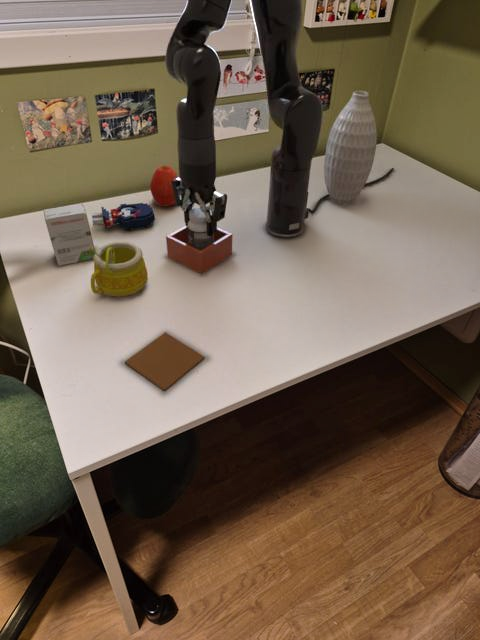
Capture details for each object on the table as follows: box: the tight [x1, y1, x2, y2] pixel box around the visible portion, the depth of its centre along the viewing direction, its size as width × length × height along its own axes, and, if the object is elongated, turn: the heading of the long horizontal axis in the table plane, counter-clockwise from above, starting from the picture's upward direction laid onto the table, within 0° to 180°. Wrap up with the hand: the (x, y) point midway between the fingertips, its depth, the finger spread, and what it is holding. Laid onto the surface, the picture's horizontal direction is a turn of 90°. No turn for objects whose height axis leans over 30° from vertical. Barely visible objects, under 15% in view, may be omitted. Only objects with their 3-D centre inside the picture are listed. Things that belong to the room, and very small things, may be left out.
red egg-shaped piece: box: [149, 164, 179, 207], centre depth 124 cm, size 8×8×11 cm
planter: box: [165, 225, 233, 275], centre depth 107 cm, size 11×11×6 cm
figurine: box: [91, 202, 156, 232], centre depth 117 cm, size 9×4×15 cm
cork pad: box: [124, 332, 206, 392], centre depth 83 cm, size 10×10×1 cm
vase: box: [323, 90, 378, 205], centre depth 122 cm, size 13×13×28 cm
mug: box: [90, 241, 148, 297], centre depth 95 cm, size 13×11×12 cm
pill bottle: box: [188, 206, 214, 251], centre depth 105 cm, size 6×6×10 cm
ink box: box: [43, 203, 96, 267], centre depth 103 cm, size 9×5×12 cm, turn 112°
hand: (200, 229), depth 104 cm, fingers closed on pill bottle, 5 cm apart
